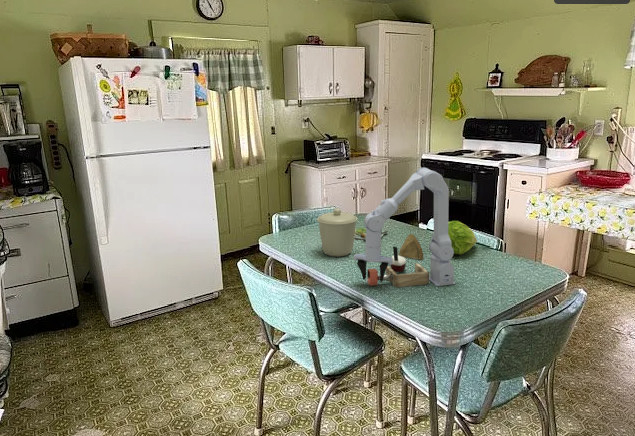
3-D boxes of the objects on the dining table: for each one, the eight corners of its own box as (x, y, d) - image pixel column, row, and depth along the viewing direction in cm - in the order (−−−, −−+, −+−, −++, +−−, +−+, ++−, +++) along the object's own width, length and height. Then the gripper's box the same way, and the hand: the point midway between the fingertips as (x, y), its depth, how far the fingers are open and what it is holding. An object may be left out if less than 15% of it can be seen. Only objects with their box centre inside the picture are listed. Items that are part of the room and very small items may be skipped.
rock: (430, 254, 199) (420, 244, 208) (421, 241, 195) (411, 231, 204) (411, 269, 199) (401, 259, 208) (401, 257, 195) (392, 247, 204)
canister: (336, 262, 198) (335, 215, 192) (309, 252, 211) (308, 208, 206) (365, 253, 209) (365, 208, 203) (339, 244, 222) (338, 201, 217)
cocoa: (398, 266, 192) (399, 239, 189) (410, 270, 188) (411, 242, 185) (383, 272, 186) (384, 244, 183) (395, 276, 182) (396, 247, 178)
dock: (428, 283, 174) (429, 272, 173) (395, 287, 171) (395, 276, 170) (417, 273, 183) (417, 263, 182) (385, 277, 181) (386, 266, 180)
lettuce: (456, 250, 221) (484, 262, 209) (423, 245, 206) (450, 257, 194) (466, 221, 219) (495, 231, 206) (433, 213, 204) (462, 224, 191)
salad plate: (380, 244, 222) (381, 235, 221) (345, 241, 228) (345, 232, 227) (389, 233, 239) (389, 224, 238) (356, 230, 245) (356, 222, 244)
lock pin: (397, 282, 174) (397, 269, 173) (369, 285, 172) (370, 272, 170) (394, 279, 177) (394, 266, 175) (367, 282, 175) (367, 269, 173)
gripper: (395, 244, 170) (394, 278, 174) (357, 240, 176) (357, 273, 179) (390, 250, 164) (389, 285, 168) (352, 246, 169) (352, 280, 173)
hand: (372, 279), depth 173 cm, fingers open, 6 cm apart
